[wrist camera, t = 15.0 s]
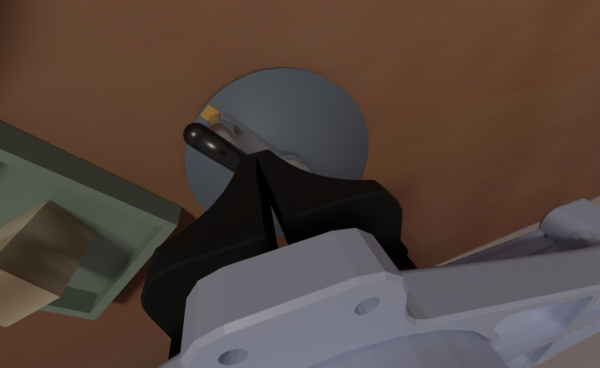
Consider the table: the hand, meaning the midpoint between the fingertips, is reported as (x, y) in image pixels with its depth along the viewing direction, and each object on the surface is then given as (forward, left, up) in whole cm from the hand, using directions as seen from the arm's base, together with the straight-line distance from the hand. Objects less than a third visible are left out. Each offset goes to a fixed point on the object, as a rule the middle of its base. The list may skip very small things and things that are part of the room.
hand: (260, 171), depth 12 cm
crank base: (-5, +1, -9) cm, 11 cm away
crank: (-2, +1, -8) cm, 9 cm away
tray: (+6, +16, -9) cm, 20 cm away
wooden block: (+6, +16, -9) cm, 19 cm away
